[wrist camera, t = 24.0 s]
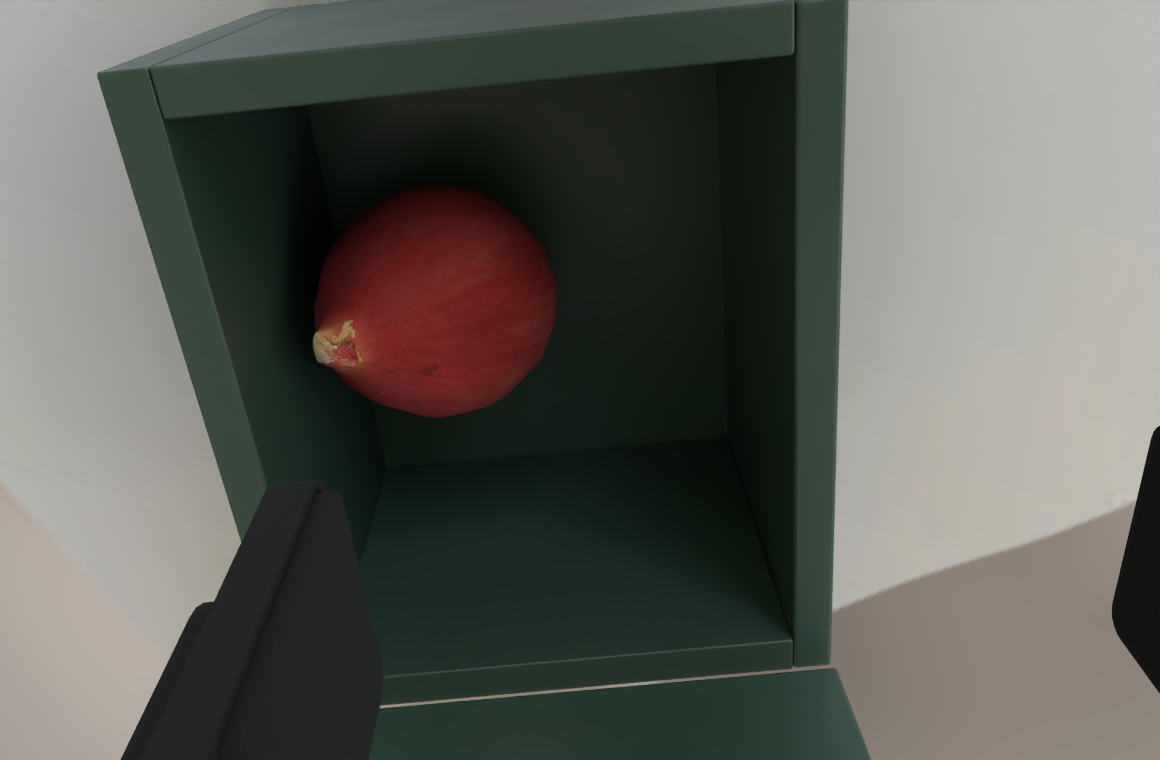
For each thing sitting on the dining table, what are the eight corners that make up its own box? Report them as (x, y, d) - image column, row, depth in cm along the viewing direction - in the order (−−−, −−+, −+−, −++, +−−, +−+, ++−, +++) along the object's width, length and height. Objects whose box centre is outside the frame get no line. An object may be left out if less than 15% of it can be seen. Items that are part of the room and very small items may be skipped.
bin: (261, 10, 26) (94, 72, 16) (741, -41, 25) (849, -6, 16) (369, 479, 32) (293, 714, 23) (750, 443, 32) (831, 666, 23)
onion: (527, 394, 29) (335, 517, 23) (413, 243, 29) (192, 325, 23) (651, 287, 25) (461, 399, 19) (519, 116, 26) (290, 172, 19)
